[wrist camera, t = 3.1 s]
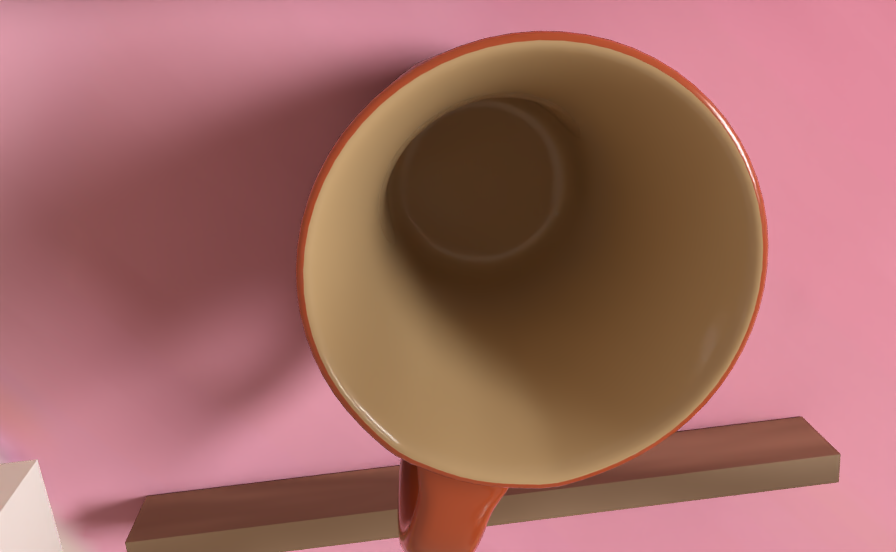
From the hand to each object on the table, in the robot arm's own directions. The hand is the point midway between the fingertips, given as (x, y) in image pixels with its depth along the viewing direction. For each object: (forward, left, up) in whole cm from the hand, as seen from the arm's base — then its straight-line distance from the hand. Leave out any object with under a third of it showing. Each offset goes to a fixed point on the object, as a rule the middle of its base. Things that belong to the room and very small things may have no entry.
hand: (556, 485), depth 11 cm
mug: (0, 0, -15) cm, 15 cm away
